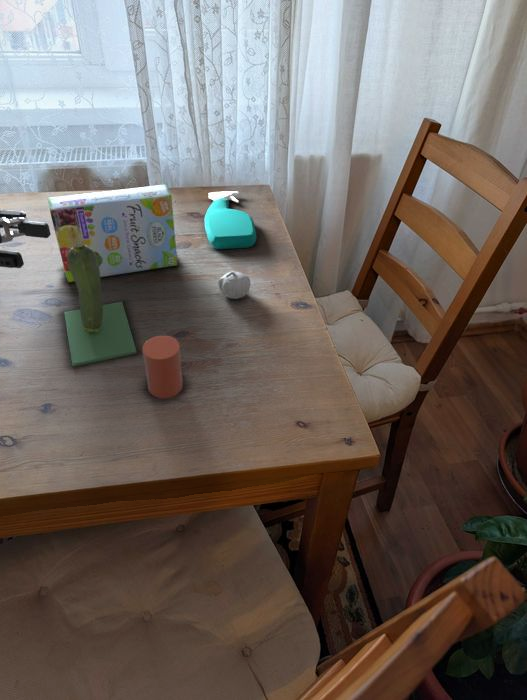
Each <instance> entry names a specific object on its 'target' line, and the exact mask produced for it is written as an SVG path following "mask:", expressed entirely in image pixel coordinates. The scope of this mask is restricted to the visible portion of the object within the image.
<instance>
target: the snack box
mask: <svg viewBox="0 0 527 700" xmlns="http://www.w3.org/2000/svg"><path fill="white" fill-rule="evenodd" d="M47 203H48V207H49V214H50V218H51V222H52V225H53V229H54V234H55V238H56V242H57V246H58V249H59V253H60V259H61V262H62V267H63V270H64V274H65V277H66V280H67V282H68V283H73V282H75V281H74V278H73V276H72V274H71V272H70V270H69V267H68V263H67V256H68V252H69V250H70V249H71V248H72V247H73V246H72V244H71V241H70V237H69V234H68V230H69V227H72V226H73V228H75V229H76V230H77V231H78V232H79V233H80V234H81V236H82V238H83V240H84V245H86V246H88V247H90V248H91V249H92V250H93V251H94V253H95V255H96V257H97V260H98V264H99V269H100V278H103V277H109V276H116V275H123V274H129V273H137V272H143V271H149V270H155V269H161V268H169V267H174V266H175V267H176V266H178V256H177V244H176V243H177V242H176V231H175V220H174V219H175V218H174V208H173V196H172V194H171V192H170V190H169V189H168V187H167V185H166V184H158V185H150V186H140V187H133V188H123V189H114V190H107V191H106V190H105V191H96V192H89V193H79V194H71V195H63V196H52V197H47Z"/></svg>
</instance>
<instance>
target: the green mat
mask: <svg viewBox="0 0 527 700" xmlns="http://www.w3.org/2000/svg"><path fill="white" fill-rule="evenodd" d="M63 313H64V320H65V325H66V326H65V327H66V333H67V340H68V346H69V347H68V348H69V353H70V361H71V366H72V367H77V366H82V365H83V366H84V365H87V364H93V363H99V362H103V361H107V360H112V359H116V358H122V357H127V356H132V355H136V354H138V353H137V348H136V345H135V341H134V338H133V335H132V331H131V328H130V323H129V320H128V316H127V314H126V313H127V312H126V310H125V307H124V304H123V301H118V302H111V303H106V304H103V316H102V324H101V326H100V327H99V330H98V332H97V333H96V332H89V333H88V332H87V331H86V332H85V330H84V326H83V324H82V319H81V312H80V308H77V309H73V310H67V311H64V312H63Z"/></svg>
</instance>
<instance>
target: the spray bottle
mask: <svg viewBox="0 0 527 700" xmlns="http://www.w3.org/2000/svg"><path fill="white" fill-rule="evenodd" d="M239 195H240V193H239V191H234V190H233V191H232V190H231V191H230V190H229V191H213V192H208V199H209V200H212V203H211V204H210V205H209V207H208V209H207V211H206V214H205V215H204V229H205V233H206V236H207V239H208V241H209V243H210V246H211V247H213V248H214V249H215V250H227V249H228V250H229V249H230V250H231V249H248V248H251V247H253V246H254V245H255V243H256V241H257V230H256V226H255V222H254V220H253V217H252V216H251V215H250V214H248V213H247V212H245V211H243V210H239V209H234V208H230V206H229V205H230V201H233V202H235V203H238V204H239V202H240V201H239V200H238V199H237V198H236V197H239Z"/></svg>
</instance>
